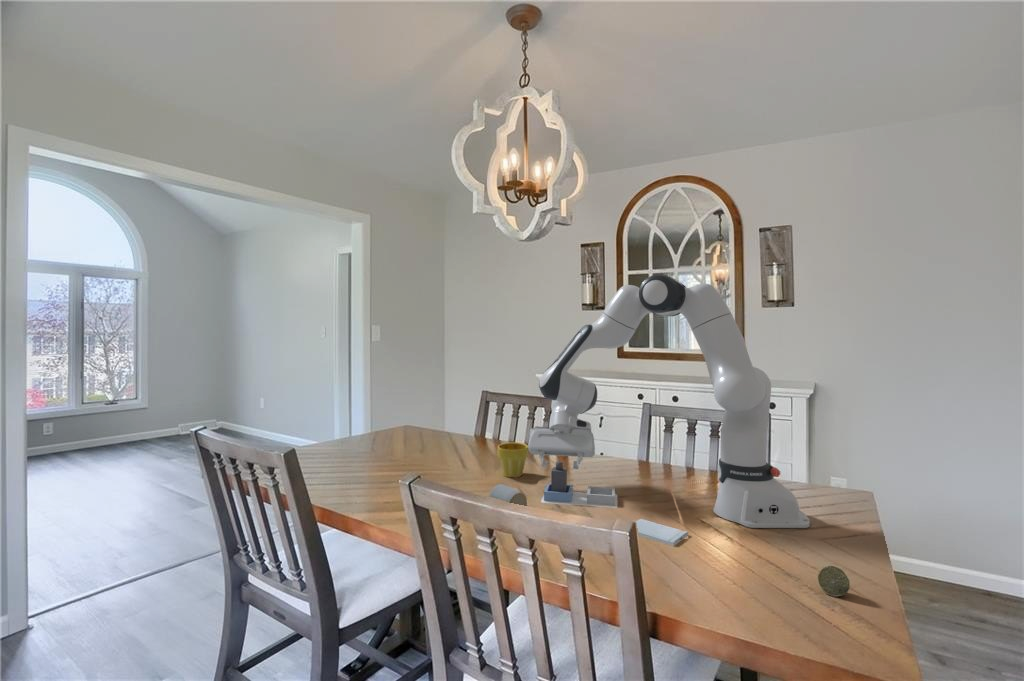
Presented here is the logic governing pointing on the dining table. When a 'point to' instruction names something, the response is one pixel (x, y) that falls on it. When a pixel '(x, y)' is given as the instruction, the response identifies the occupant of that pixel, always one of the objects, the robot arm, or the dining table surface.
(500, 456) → the plant pot
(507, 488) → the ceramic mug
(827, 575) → the lime
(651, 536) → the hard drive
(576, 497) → the plate
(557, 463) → the plug
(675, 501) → the dining table surface
